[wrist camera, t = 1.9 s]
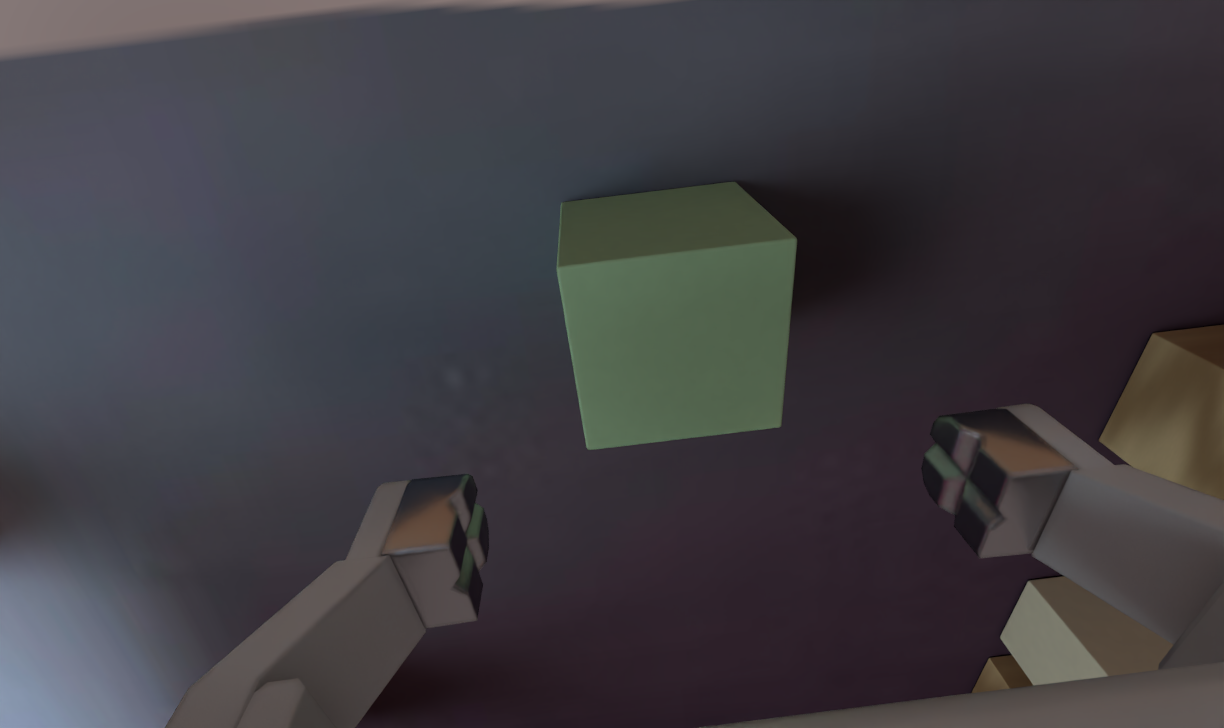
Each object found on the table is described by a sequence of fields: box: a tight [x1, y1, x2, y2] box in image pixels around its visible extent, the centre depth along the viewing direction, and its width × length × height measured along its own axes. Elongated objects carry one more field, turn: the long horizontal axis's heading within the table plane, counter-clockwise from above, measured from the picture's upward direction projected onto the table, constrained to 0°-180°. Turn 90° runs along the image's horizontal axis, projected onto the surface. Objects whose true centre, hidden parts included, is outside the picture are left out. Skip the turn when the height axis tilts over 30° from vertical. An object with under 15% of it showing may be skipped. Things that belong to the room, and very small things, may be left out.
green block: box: [557, 182, 797, 450], centre depth 14 cm, size 5×5×5 cm
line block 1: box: [972, 655, 1034, 693], centre depth 29 cm, size 5×5×5 cm
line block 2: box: [1000, 576, 1173, 685], centre depth 25 cm, size 5×5×5 cm
